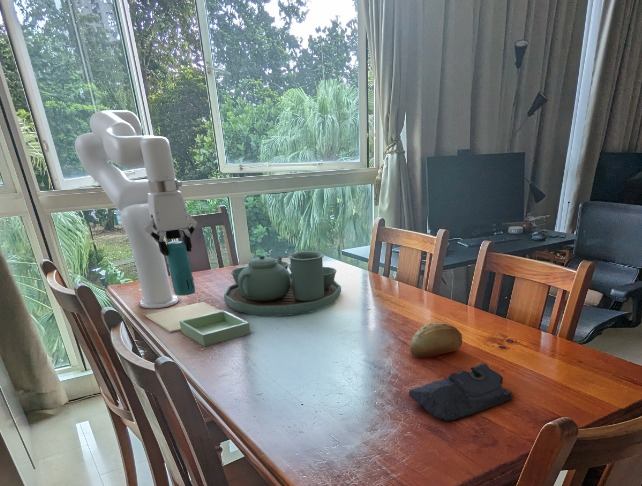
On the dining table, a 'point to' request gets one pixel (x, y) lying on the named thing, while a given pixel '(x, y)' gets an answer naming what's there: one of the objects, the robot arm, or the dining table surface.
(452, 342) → the bread roll
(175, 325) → the mat
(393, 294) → the dining table surface
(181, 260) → the beverage bottle
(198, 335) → the tray
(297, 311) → the tea set
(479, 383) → the folded black shirt
